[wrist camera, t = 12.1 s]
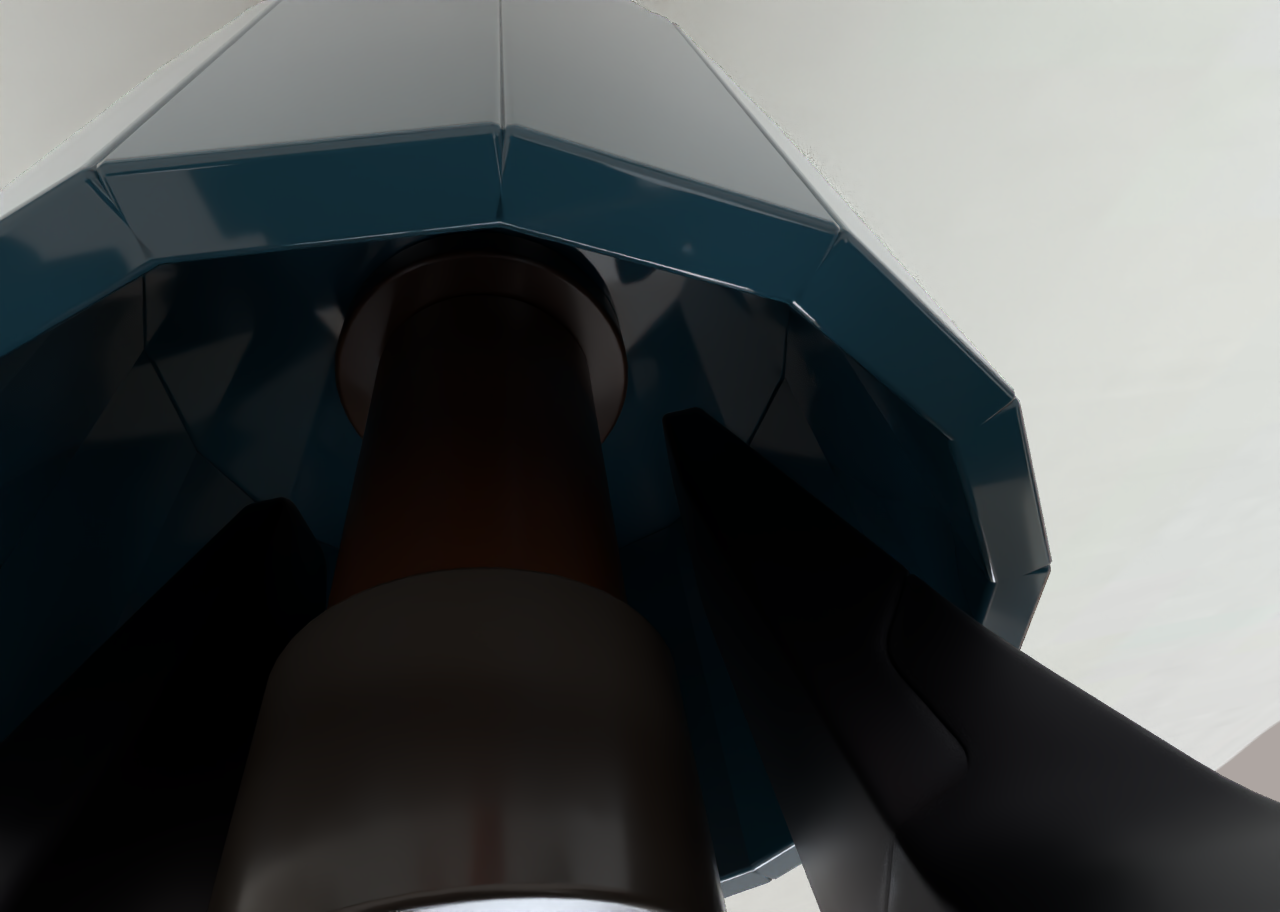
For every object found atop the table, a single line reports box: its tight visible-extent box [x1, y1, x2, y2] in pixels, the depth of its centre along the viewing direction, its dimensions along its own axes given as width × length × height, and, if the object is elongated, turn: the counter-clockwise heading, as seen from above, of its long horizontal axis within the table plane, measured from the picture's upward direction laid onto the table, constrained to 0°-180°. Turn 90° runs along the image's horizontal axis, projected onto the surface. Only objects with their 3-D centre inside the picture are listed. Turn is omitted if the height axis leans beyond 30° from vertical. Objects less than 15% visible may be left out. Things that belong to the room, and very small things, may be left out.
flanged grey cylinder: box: [207, 232, 727, 912], centre depth 8 cm, size 4×4×7 cm
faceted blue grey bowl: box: [0, 0, 1052, 898], centre depth 9 cm, size 9×9×6 cm
